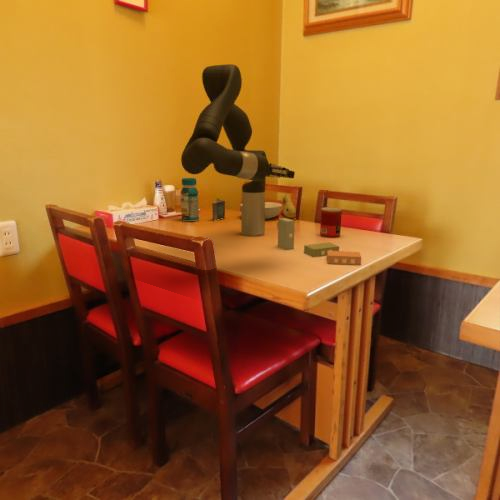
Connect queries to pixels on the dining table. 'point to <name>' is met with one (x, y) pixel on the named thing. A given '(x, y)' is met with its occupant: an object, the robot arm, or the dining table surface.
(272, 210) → the serving bowl
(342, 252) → the digit tile 3
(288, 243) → the digit tile 1
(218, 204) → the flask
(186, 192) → the beverage bottle
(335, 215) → the canned food
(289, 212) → the yellow pear
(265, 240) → the dining table surface
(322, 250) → the digit tile 2
